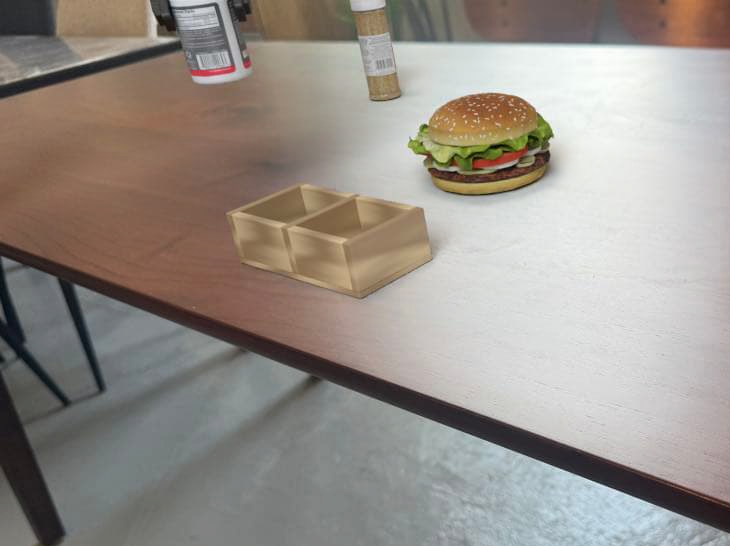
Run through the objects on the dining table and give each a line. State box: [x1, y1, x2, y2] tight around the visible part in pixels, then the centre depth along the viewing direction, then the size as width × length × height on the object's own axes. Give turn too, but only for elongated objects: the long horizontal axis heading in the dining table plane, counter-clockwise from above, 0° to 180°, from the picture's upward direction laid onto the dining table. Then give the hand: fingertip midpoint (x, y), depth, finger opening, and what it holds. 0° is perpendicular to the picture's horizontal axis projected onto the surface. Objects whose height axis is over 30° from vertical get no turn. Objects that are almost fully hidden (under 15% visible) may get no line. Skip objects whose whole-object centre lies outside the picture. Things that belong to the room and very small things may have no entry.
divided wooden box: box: [225, 182, 433, 300], centre depth 72 cm, size 15×8×4 cm, turn 53°
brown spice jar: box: [349, 0, 402, 101], centre depth 117 cm, size 5×5×14 cm
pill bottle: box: [169, 0, 253, 86], centre depth 76 cm, size 5×5×10 cm
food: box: [407, 91, 555, 195], centre depth 85 cm, size 14×14×8 cm
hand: (205, 19), depth 74 cm, fingers closed on pill bottle, 5 cm apart
